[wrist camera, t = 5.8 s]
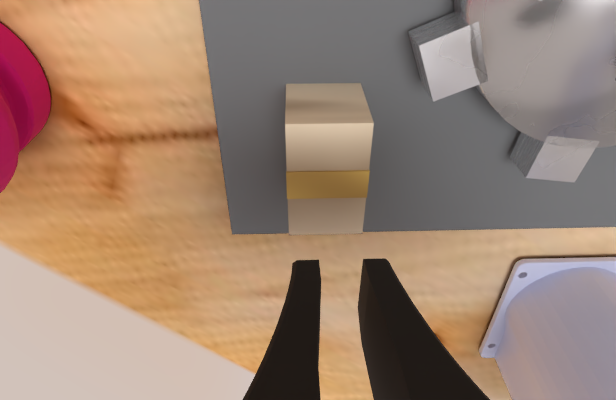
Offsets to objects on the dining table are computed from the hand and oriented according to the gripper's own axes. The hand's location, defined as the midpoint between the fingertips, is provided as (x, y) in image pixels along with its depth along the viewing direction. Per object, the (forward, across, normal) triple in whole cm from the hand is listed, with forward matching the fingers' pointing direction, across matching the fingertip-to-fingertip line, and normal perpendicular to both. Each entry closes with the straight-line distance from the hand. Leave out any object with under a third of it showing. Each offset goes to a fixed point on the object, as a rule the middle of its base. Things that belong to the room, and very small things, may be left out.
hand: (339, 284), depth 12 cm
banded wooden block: (+8, 0, 0) cm, 8 cm away
